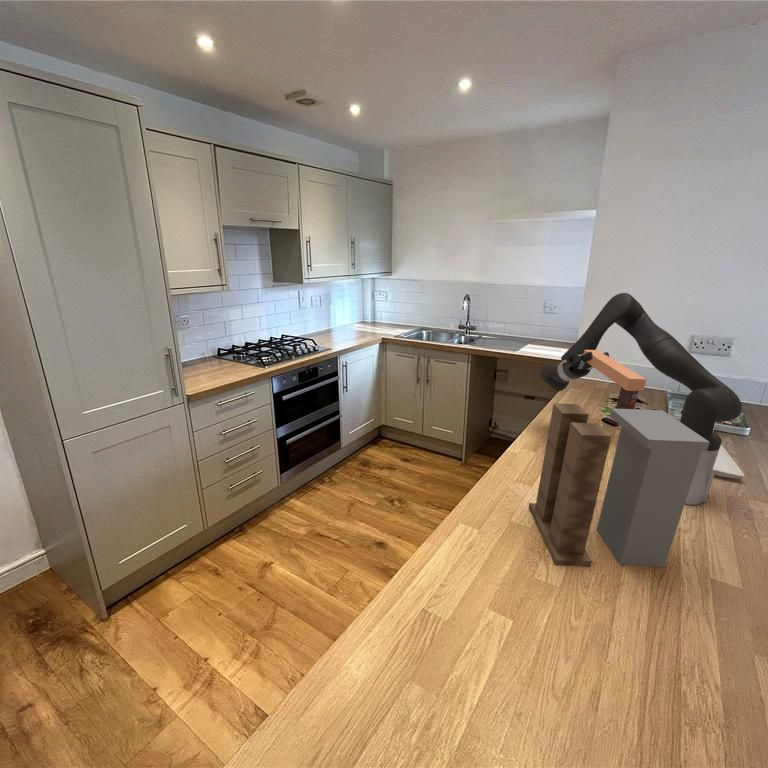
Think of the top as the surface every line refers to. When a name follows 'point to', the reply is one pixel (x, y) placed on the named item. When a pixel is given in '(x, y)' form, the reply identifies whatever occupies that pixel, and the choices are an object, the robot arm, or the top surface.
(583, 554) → the gate
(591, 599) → the top surface
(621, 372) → the beam
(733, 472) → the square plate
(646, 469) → the pedestal
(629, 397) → the supplement box
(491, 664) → the top surface
